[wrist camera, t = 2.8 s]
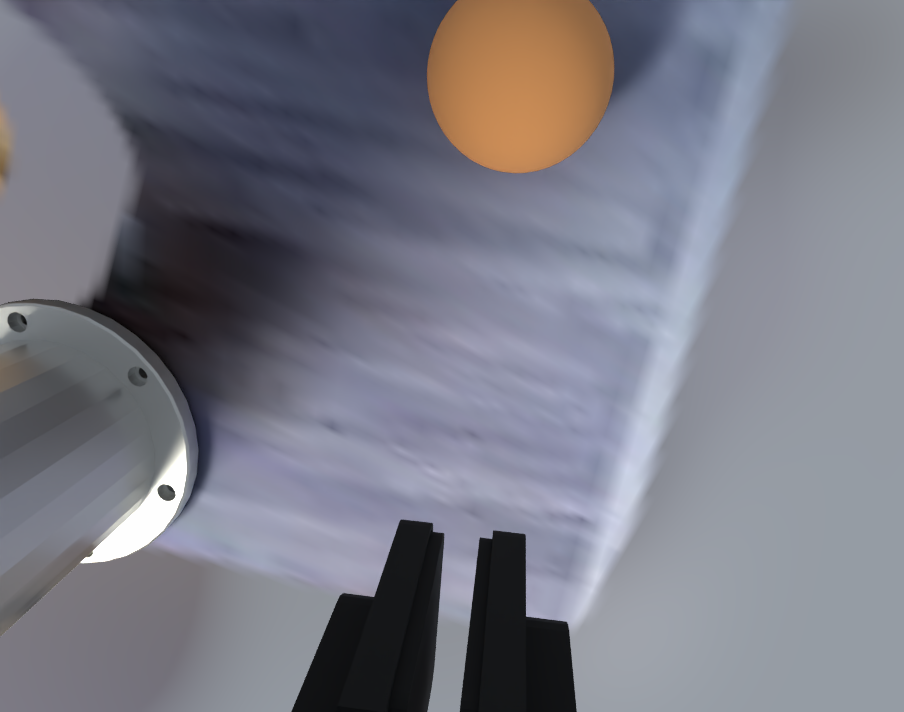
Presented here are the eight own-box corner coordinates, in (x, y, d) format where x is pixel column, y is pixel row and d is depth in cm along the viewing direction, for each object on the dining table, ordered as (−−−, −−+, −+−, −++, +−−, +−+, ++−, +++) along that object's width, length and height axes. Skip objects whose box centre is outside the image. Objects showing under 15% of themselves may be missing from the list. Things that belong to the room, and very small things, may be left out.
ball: (499, 202, 26) (492, 216, 20) (406, 67, 25) (371, 42, 19) (634, 104, 24) (668, 90, 19) (543, -44, 23) (549, -107, 18)
